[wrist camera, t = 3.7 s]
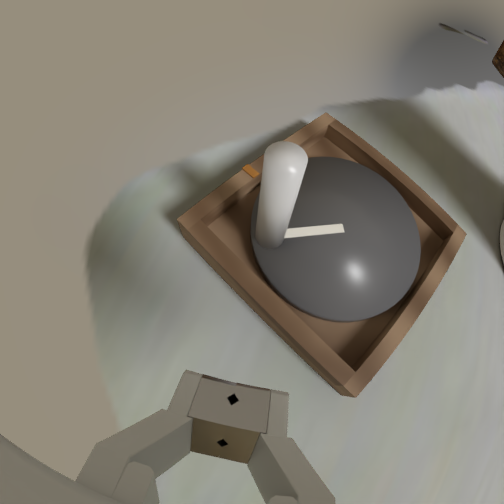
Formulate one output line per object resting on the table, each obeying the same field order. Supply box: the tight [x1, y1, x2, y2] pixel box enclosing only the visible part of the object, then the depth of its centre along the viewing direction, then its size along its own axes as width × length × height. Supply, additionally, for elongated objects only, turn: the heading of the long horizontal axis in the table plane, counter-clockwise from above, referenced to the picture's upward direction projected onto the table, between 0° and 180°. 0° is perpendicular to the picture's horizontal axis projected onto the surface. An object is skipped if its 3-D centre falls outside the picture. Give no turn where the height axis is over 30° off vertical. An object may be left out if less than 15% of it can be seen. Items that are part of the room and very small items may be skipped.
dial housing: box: [177, 113, 466, 398], centre depth 27 cm, size 20×20×4 cm
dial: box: [250, 141, 421, 323], centre depth 22 cm, size 16×16×11 cm
